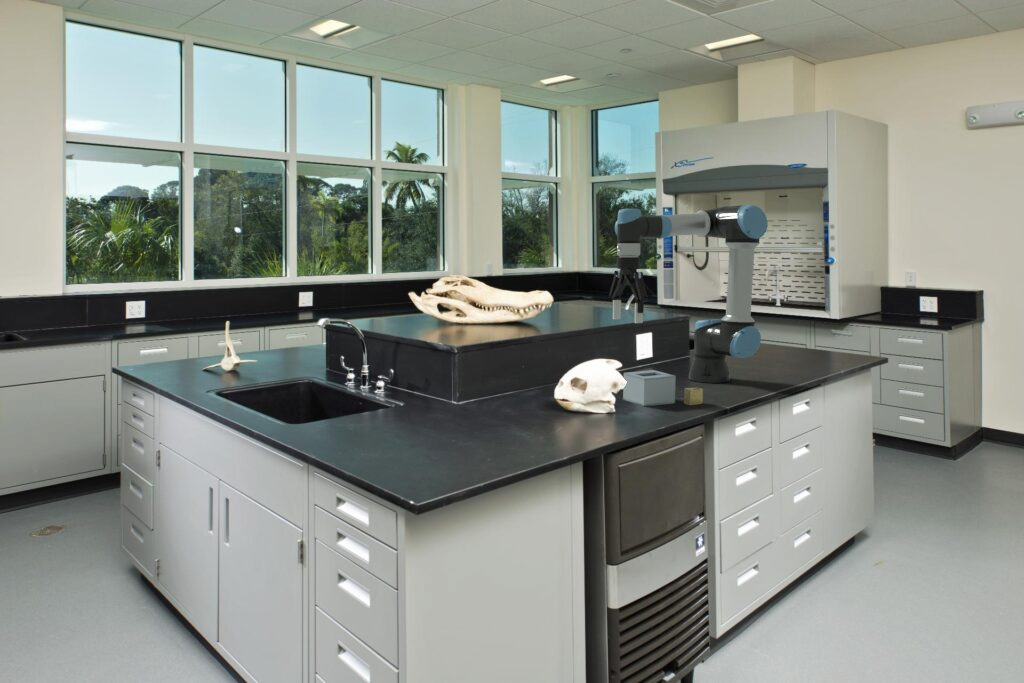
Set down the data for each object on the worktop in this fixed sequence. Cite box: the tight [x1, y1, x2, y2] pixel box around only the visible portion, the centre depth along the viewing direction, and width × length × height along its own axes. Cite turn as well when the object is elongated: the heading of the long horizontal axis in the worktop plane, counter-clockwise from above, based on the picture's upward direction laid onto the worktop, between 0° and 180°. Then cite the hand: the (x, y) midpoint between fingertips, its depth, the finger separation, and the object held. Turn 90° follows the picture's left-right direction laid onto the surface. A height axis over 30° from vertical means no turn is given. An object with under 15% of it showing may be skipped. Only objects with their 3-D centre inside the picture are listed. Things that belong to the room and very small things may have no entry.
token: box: [683, 386, 704, 406], centre depth 244 cm, size 5×3×5 cm, turn 114°
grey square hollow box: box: [622, 369, 677, 408], centre depth 247 cm, size 12×12×9 cm
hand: (627, 321), depth 250 cm, fingers open, 13 cm apart
